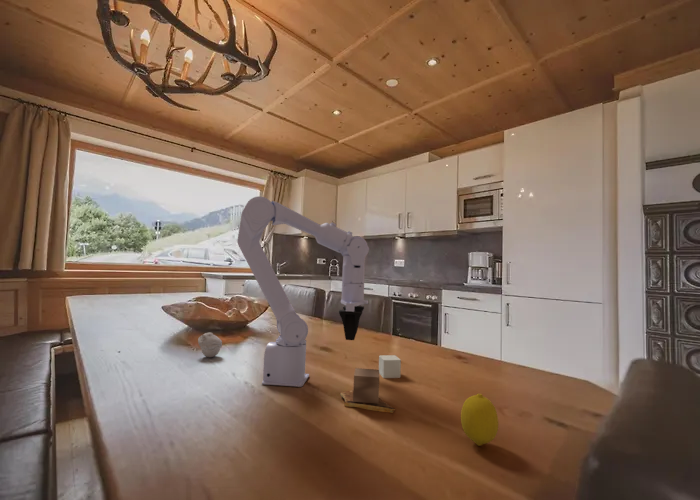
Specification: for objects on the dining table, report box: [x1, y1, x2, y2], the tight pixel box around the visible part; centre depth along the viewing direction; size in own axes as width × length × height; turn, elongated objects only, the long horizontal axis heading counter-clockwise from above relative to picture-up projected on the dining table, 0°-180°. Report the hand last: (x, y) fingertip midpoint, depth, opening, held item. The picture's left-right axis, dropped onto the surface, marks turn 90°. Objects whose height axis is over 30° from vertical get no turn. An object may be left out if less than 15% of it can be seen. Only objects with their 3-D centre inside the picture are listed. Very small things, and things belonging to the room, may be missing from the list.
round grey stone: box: [197, 332, 223, 358], centre depth 95 cm, size 6×7×7 cm
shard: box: [339, 389, 396, 414], centre depth 65 cm, size 11×8×2 cm
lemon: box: [460, 393, 499, 447], centre depth 52 cm, size 6×6×8 cm
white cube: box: [378, 354, 402, 379], centre depth 84 cm, size 4×4×4 cm
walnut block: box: [352, 367, 380, 404], centre depth 66 cm, size 5×5×5 cm
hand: (351, 336), depth 83 cm, fingers open, 7 cm apart
